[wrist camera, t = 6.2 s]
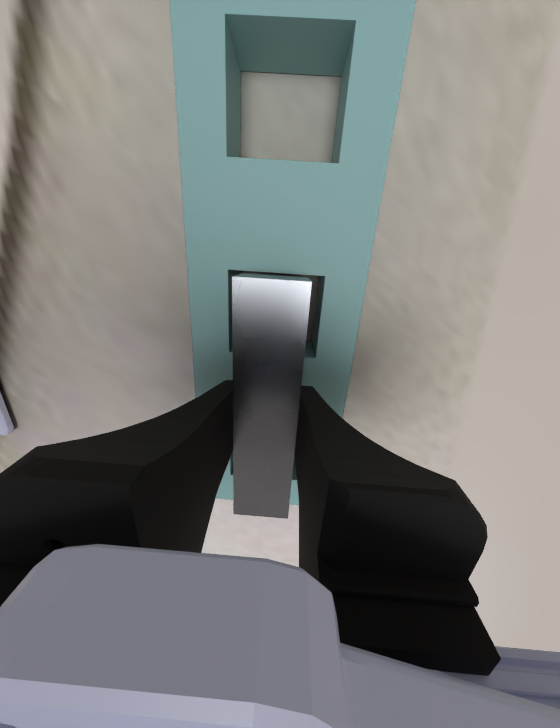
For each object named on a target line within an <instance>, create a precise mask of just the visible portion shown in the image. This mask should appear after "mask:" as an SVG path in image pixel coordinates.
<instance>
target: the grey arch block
mask: <svg viewBox="0 0 560 728" xmlns="http://www.w3.org/2000/svg"><path fill="white" fill-rule="evenodd" d="M311 287H312V281H311V280H310V279H309V278H308V277H294V276H279V275H264V274H250V273H242V274H239V275H235V276H232V345H233V492H234V514H240V515H252V516H264V517H275V518H287V519H288V512H289V502H290V492H291V482H292V473H293V463H294V453H295V443H296V433H297V424H298V414H299V404H300V394H301V384H302V375H303V365H304V355H305V345H306V336H307V326H308V316H309V306H310V296H311Z"/></svg>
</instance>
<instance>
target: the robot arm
mask: <svg viewBox="0 0 560 728" xmlns="http://www.w3.org/2000/svg"><path fill="white" fill-rule="evenodd" d="M13 430H14V427H13V424H12V421H11V419H10V416H9V413H8V411H7V408H6V405H5V403H4V400H3V397H2V395H1V392H0V435H2V436H5V435H7V434H9V433H11V432H12V431H13ZM232 452H233V380H225V381H223V382H221V383H220V384H218V385H216V386H215V387H213V388H212V389H210V390H209V391H207V392H205V393H204V394H202V395H200V396H199V397H197V398H195V399H193V400H191V401H190V402H188V403H186V404H184V405H182V406H180V407H178V408H176V409H174V410H172V411H170V412H168V413H165V414H163V415H161V416H158V417H156V418H153V419H150V420H147V421H144V422H141V423H138V424H136V425H133V426H130V427H127V428H123V429H120V430H116V431H112V432H109V433H105V434H100V435H96V436H92V437H88V438H83V439H78V440H72V441H67V442H61V443H56V444H51V445H45V446H38V447H35V448H34V449H33V450H31V451H30V452H29V453H27V454H26V455H25V456H23V457H22V458H21V459H19V460H18V461H17V462H15V463H14V464H12V465H11V466H10V467H8V468H7V469H6V470H4V471H3V472H2V473H0V728H560V652H551V651H540V650H529V649H519V648H508V647H497V646H494V644H493V642H492V640H491V638H490V637H489V635H488V633H487V631H486V629H485V627H484V625H483V623H482V621H481V619H480V617H479V615H478V613H477V611H476V610H475V607H477V606H478V604H479V601H478V596H477V594H476V593H475V591H474V589H473V587H472V585H471V583H470V582H469V580H468V579H469V577H470V575H471V573H472V571H473V569H474V567H475V566H476V564H477V562H478V560H479V558H480V556H481V554H482V552H483V550H484V546H485V544H486V540H487V526H486V524H485V522H484V520H483V518H482V517H481V515H480V513H479V512H478V511H477V510H476V508H475V507H474V505H473V504H472V503H471V501H470V500H469V499H468V497H467V496H466V494H465V493H464V492H463V490H462V489H461V488H460V486H459V485H458V484H457V483H456V481H455V480H453V479H450V478H448V477H445V476H443V475H440V474H438V473H435V472H433V471H430V470H428V469H426V468H423V467H421V466H418V465H416V464H414V463H412V462H410V461H408V460H406V459H404V458H402V457H400V456H398V455H396V454H394V453H392V452H390V451H388V450H386V449H385V448H383V447H381V446H380V445H378V444H376V443H375V442H373V441H372V440H370V439H368V438H367V437H365V436H364V435H363V434H361V433H360V432H359V431H357V430H356V429H355V428H353V427H352V426H351V425H349V424H348V423H347V422H346V421H345V420H344V419H342V418H341V417H340V416H339V415H338V414H337V413H336V412H335V411H334V410H333V409H332V408H331V407H330V406H329V405H328V404H327V403H326V402H325V400H324V399H323V398H322V397H321V396H320V394H319V393H318V392H317V391H316V390H315V388H314V387H313V386H303V385H301V394H300V404H299V414H298V424H297V433H296V443H295V453H294V456H295V466H296V476H297V486H298V496H299V567H296V566H292V565H288V564H285V563H281V562H277V561H273V560H270V559H263V558H252V557H241V556H229V555H218V554H206V553H201V551H202V547H203V543H204V539H205V535H206V531H207V527H208V523H209V520H210V516H211V512H212V508H213V505H214V501H215V498H216V495H217V492H218V489H219V486H220V483H221V481H222V478H223V475H224V473H225V470H226V467H227V465H228V462H229V460H230V457H231V454H232Z"/></svg>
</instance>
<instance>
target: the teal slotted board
mask: <svg viewBox="0 0 560 728" xmlns="http://www.w3.org/2000/svg"><path fill="white" fill-rule="evenodd" d="M415 4H416V0H170V15H171V31H172V46H173V61H174V76H175V91H176V106H177V121H178V136H179V151H180V166H181V181H182V196H183V211H184V227H185V242H186V257H187V272H188V287H189V302H190V317H191V332H192V347H193V362H194V377H195V392H196V398H197V397H199V396H200V395H202V394H204V393H205V392H207V391H209V390H210V389H212V388H213V387H215V386H216V385H218V384H220V383H221V382H223V381H225V380H233V345H232V276H235V275H239V274H240V270H242V271H257V272H272V273H287V274H302V275H317V276H319V281H318V290H317V299H316V308H315V317H314V326H313V335H312V341H306V345H305V355H304V365H303V375H302V384H301V385H303V386H313V387H314V388H315V390H316V391H317V392H318V393H319V394H320V396H321V397H322V398H323V399H324V400H325V402H326V403H327V404H328V405H329V406H330V407H331V408H332V409H333V410H334V411H335V412H336V413H337V414H338V415H339V416H340V417H341V418H343V412H344V407H345V401H346V395H347V390H348V384H349V378H350V373H351V367H352V361H353V356H354V350H355V344H356V339H357V333H358V327H359V321H360V316H361V310H362V304H363V299H364V293H365V287H366V282H367V276H368V270H369V265H370V259H371V253H372V248H373V242H374V236H375V231H376V225H377V219H378V214H379V208H380V202H381V197H382V191H383V185H384V180H385V174H386V168H387V163H388V157H389V151H390V146H391V140H392V134H393V129H394V123H395V117H396V112H397V106H398V100H399V95H400V89H401V83H402V78H403V72H404V66H405V61H406V55H407V49H408V44H409V38H410V32H411V27H412V21H413V15H414V10H415ZM241 71H250V72H269V73H288V74H307V75H325V76H341V82H340V91H339V100H338V109H337V118H336V127H335V136H334V145H333V154H332V163H324V162H307V161H290V160H273V159H256V158H240V92H241ZM216 498H219V499H231V500H234V492H233V452H232V454H231V457H230V460H229V462H228V465H227V467H226V470H225V473H224V475H223V478H222V481H221V483H220V486H219V489H218V492H217V495H216ZM289 504H292V505H299V496H298V486H297V476H296V466H295V456H294V463H293V473H292V482H291V492H290V502H289Z"/></svg>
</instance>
